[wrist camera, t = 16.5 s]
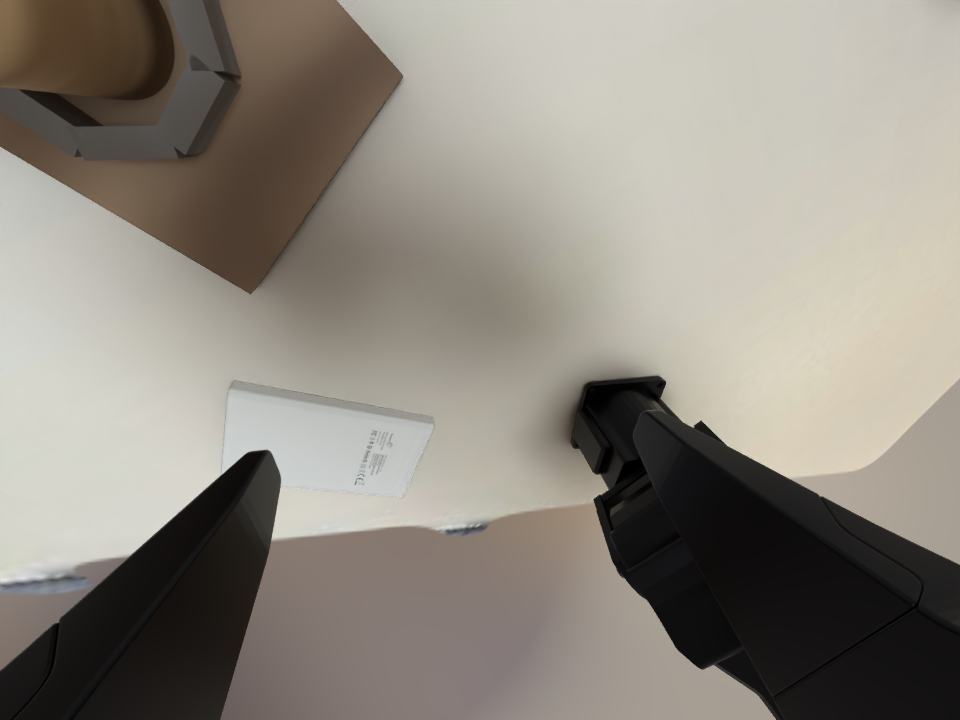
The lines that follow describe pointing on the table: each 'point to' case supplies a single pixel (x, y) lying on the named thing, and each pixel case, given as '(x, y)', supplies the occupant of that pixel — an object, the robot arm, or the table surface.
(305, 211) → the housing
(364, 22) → the table surface
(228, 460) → the external hard drive
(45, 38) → the light brown tall cylinder
